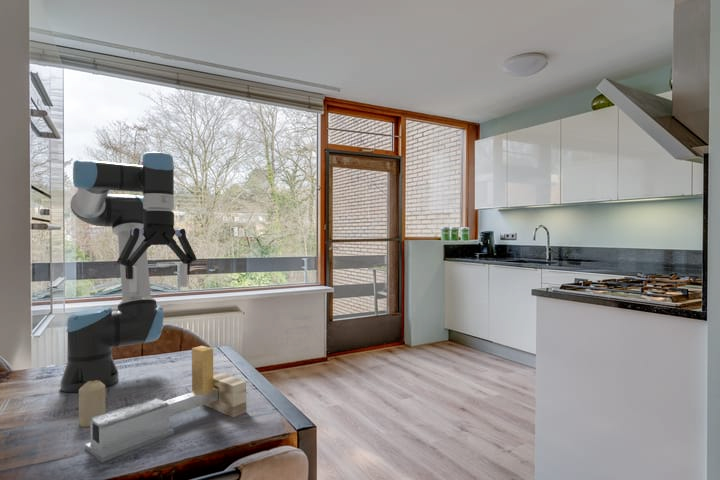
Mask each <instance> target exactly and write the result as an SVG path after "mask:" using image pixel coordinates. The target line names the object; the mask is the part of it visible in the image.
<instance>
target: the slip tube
mask: <svg viewBox="0 0 720 480" xmlns="http://www.w3.org/2000/svg"><path fill="white" fill-rule="evenodd" d="M213 370H214V348H212V347H208V346H206V345H200V346H196V347H192V348H191V391H192V392H188V393H185V394H182V395H179V396H176V397H173V398H170V399H167V400H163V401H164V402H166V403H168V410H169V418H170V417H174V416H177V415H178V414H182V413H184V412H187V411H191V410H193V409H196V408H199V407H202V406H206V405H205V404H207V403H210V402H213V401H216V400H219V387H217V386H214V385H213Z"/></svg>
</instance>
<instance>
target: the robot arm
mask: <svg viewBox="0 0 720 480" xmlns="http://www.w3.org/2000/svg"><path fill="white" fill-rule="evenodd" d="M174 170H175V165H174V157H173V155H171V154H169V153H167V152H161V151H149V152H144V154H143V155H142V162H141V164H140V165H139V164H129V163H128V164H127V163H120V162H119V163H117V162H108V161H100V160H99V161H98V160H92V159H88V160H84V159H77V160H75V161H73V166H72V181H73V182H72V183H73V186H74V187H75V188H77V190H76V193H74V194H73V196H72V198H71V199H70V209H71V212H72V213H73V215H74V216H75V217H76V218H78V220H81V221H82V222H84V223H86V224H88V225H92V226H96V227H110V228H111V229H112V233H113V234H115V235H116V236H117V239H118V240H117V242H118V243H117V244H118V254H119V255H118V259H117V260H116V263H117V265H119V269H120V284H121V295H122V296H121V297H122V299H121V301H120V303H118V305H117V310H113V309H112V307H110V306H102V307H101V306H99V307H92V308H88V309H85V310H80V311H77V312H74V313H72V314H71V315H70V316H69V317H68V318H67V324H66V325H67V326H66V332H65V333H67V336H66V337H67V338H66V339H67V355H66V356H67V361H66V362H67V363H66V365H65V368H64V371H63V375H62V377H61V380H60V390H61V392H64V393H79V389H80V388H81V387H82V386H83V385H84V384H85V383H87V382H88V381H95V380H98V381H100V382H102V383H103V384H104V385H105V388H107V387H110V386H111V385H115V383H117V382H118V381H119V371H118V368H117V366H116V363H115V360H114V359H113V353H112V351H113V348H119V347H124V346H125V347H127V346H130V345H139V344H146V343H150V342H151V343H152V342H156V341H157V340H158V339H159V338H160V337H161V334H162V332H163V331H162V330H163V327H164V326H163V323H164V309H163V307H162V306H160V305H157V300H156V299H154V298H153V297H152V295H151V284H150V273H149V263H148V261H149V259H148V251H147V250H148V249H149V248H150V247H151V246H163V245H164V246H167V247H169V248H170V249H171V251H173V253H174V254H175V255H176V256H177V258H178V259H179V260H180V261H181V263H179V287H183V288H186V287H188V275H190V273H191V267H190V266H191V265H190V264H192V263H193V262H194V261H197V256H196V254H195V252H194V250H193V248H192V246H191V244H190V242H189V239H188V238H187V233H186V229H185V228H177V229H175V227H174V225H175V213H174V211H173V210H174V209H175V200H174V199H175V197H174V196H175V195H174V191H175V190H174V189H175V186H174V185H175V184H174V183H175V181H174V178H175V176H174V175H175V174H174V173H175V172H174ZM110 191H119V192H120V191H121V192H137V193H138V192H139V193H142V195H137V194H117V193H116V194H114V193H109V192H110ZM174 236H176V237H177V239H178V241H179V244H180V246H181V247H182V248H181V247H180V246H179V245H178V243H177V241H176V240H175V239H174ZM182 249H183V250H182Z"/></svg>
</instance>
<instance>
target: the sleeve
mask: <svg viewBox="0 0 720 480" xmlns="http://www.w3.org/2000/svg"><path fill="white" fill-rule="evenodd" d="M164 401H165V400H162V399H160V398H158V397H154V398H153V397H152V398H150V399H146V400H144V401H141V402H137V403H134V404H131V405H128V406H127V405H126V406H124V407H120V408H118V409H115V410H112V411H108V412H106V413H105V414H101V415H98V416H95V417H92V418H90V427H89V431H90V433H89V434H90V442H87V443H85V445H84V447H85V451H87V452H88V453H90V454H91V455H93V456H94V457H95V459H97V460H98V461H99V462H101V463H104V462H107V461H109V460H111V459H115V458H117V457H120V456H122V455H125V454H127V453H130V452H132V451H135V450H138V449H140V448H143V447H145V446H147V445H151V444H152V443H155V442H158V441H160V440H162V439H165V438H167V437H170V436H173V435H174V434H175V429H173V428H172V427H170V424H169V423H170V422H169V418H170V417H169V410H168V403H166V402H164Z"/></svg>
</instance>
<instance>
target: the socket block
mask: <svg viewBox="0 0 720 480" xmlns="http://www.w3.org/2000/svg"><path fill="white" fill-rule="evenodd" d="M228 375H229V374H225V373H222V372H219V371H216V370H214V369H213V385H214V386H217V387H219V400H216V401H213V402H210V403H207V404H205V405H204V406H206V407H209V408H211V409H213V410H216V411H218V412H220V413H221V414H225V415H227V416H229V417H231V418H236V417H238V416H241V415H243V414H246V413H247V381H245V380H243V379H240V378H237V377H234V376H231V375H229V376H228Z"/></svg>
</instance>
